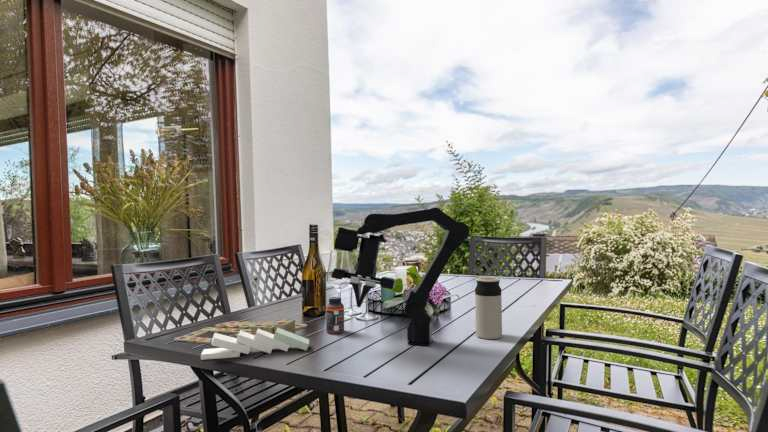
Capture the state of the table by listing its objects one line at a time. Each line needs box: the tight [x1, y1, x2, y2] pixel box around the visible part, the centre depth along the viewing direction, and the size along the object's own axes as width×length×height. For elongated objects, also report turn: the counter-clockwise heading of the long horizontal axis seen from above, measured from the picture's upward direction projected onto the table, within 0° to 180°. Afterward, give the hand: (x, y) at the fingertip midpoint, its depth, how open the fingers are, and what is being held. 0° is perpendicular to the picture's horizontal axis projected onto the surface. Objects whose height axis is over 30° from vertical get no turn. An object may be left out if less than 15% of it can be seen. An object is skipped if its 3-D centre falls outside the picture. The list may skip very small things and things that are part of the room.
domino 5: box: [273, 328, 310, 351], centre depth 129 cm, size 2×5×10 cm
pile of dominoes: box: [173, 318, 308, 345], centre depth 148 cm, size 35×27×6 cm
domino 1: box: [200, 347, 241, 361], centre depth 124 cm, size 2×5×10 cm
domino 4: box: [253, 329, 291, 353], centre depth 128 cm, size 2×5×10 cm
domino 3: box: [236, 330, 274, 355], centre depth 126 cm, size 2×5×10 cm
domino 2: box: [211, 332, 252, 355], centre depth 124 cm, size 2×5×10 cm
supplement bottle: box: [325, 296, 345, 335], centre depth 147 cm, size 6×6×11 cm
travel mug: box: [474, 276, 503, 340], centre depth 139 cm, size 8×8×18 cm
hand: (358, 307), depth 132 cm, fingers closed
